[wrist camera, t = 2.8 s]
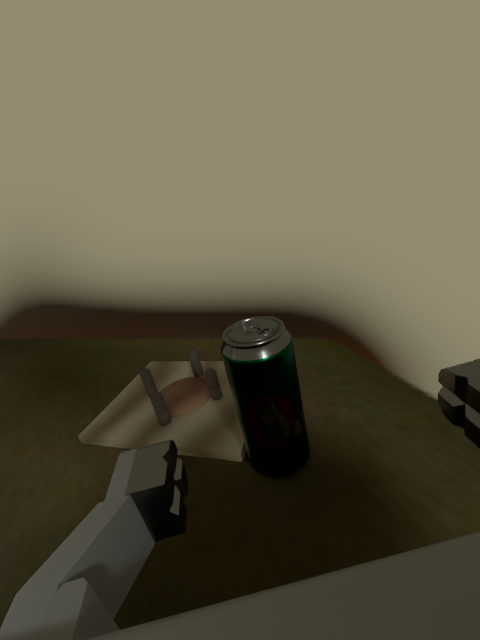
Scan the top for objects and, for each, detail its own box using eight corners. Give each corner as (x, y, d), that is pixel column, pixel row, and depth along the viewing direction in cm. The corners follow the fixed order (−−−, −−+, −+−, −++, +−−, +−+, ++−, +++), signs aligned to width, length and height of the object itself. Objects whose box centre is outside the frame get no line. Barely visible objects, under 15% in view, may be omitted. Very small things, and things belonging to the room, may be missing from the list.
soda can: (269, 427, 30) (244, 311, 25) (320, 444, 27) (302, 316, 22) (238, 468, 26) (202, 342, 22) (293, 493, 23) (264, 353, 19)
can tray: (81, 443, 33) (63, 408, 32) (153, 367, 45) (142, 339, 43) (242, 462, 27) (230, 419, 25) (276, 367, 39) (270, 334, 37)
